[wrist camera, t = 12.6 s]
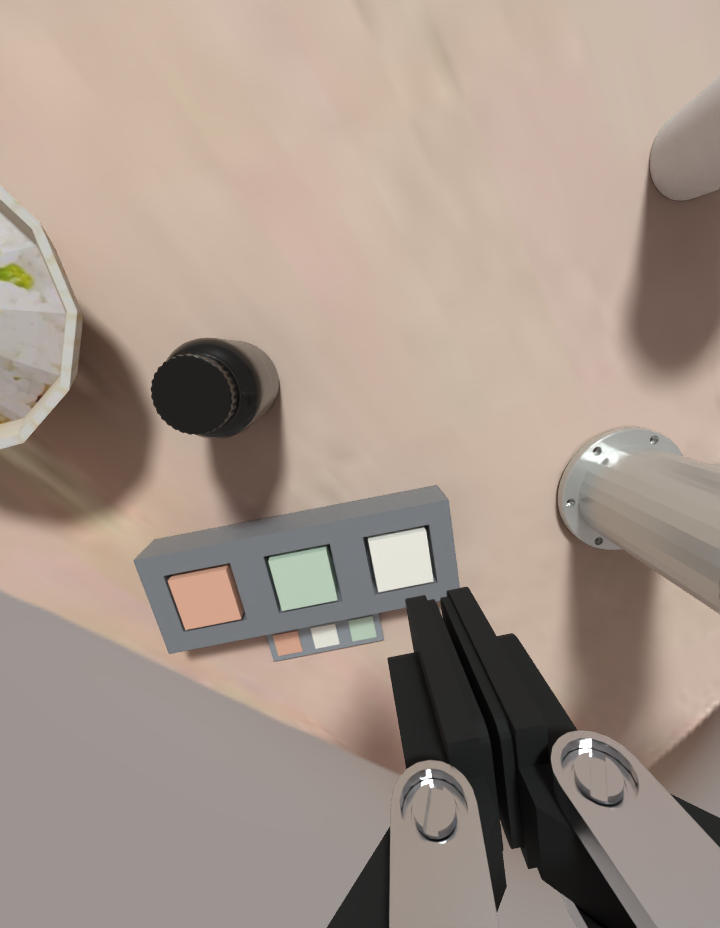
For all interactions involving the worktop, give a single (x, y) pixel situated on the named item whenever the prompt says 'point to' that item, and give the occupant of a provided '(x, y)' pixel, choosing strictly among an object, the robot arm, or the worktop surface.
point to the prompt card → (325, 637)
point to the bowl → (33, 324)
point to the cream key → (401, 558)
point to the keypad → (292, 532)
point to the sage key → (304, 577)
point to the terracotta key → (206, 596)
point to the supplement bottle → (214, 387)
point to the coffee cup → (689, 148)
